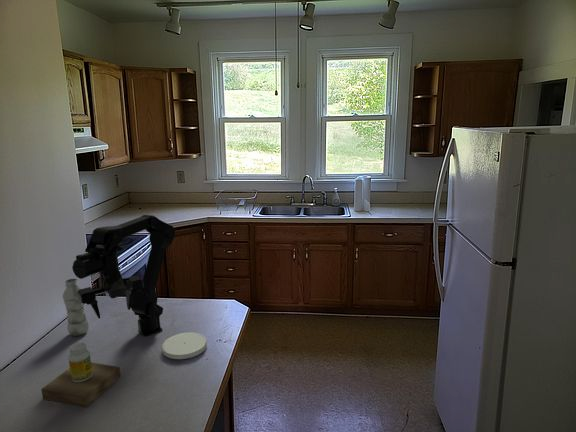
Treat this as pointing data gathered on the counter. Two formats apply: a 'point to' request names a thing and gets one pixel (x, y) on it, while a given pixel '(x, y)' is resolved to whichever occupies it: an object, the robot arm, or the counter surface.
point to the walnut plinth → (81, 386)
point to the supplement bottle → (80, 363)
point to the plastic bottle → (74, 309)
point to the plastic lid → (184, 345)
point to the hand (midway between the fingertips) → (114, 313)
